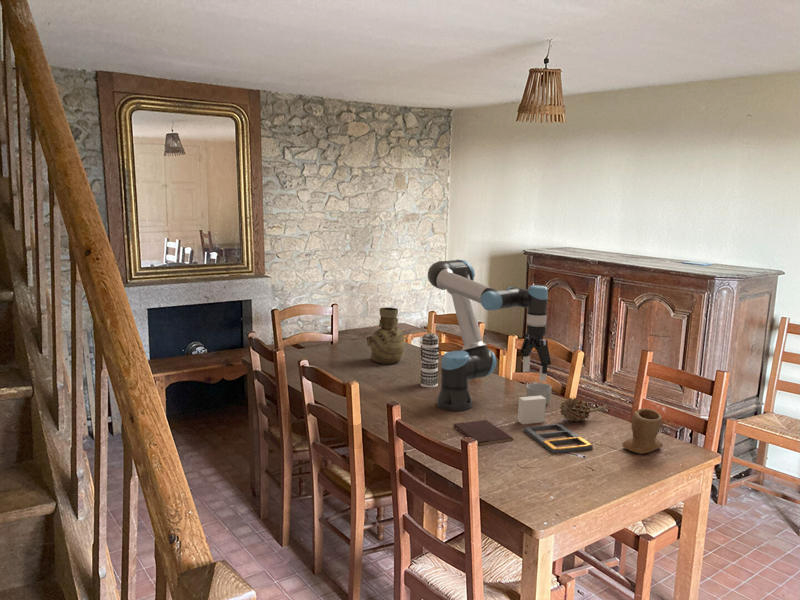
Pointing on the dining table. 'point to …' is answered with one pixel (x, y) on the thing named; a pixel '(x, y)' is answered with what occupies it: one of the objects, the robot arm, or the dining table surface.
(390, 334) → the ceramic vessel
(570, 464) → the dining table surface
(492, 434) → the notebook
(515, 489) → the dining table surface
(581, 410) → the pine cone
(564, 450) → the frame
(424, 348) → the decorative candle
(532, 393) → the teacup
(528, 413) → the panel
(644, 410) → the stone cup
